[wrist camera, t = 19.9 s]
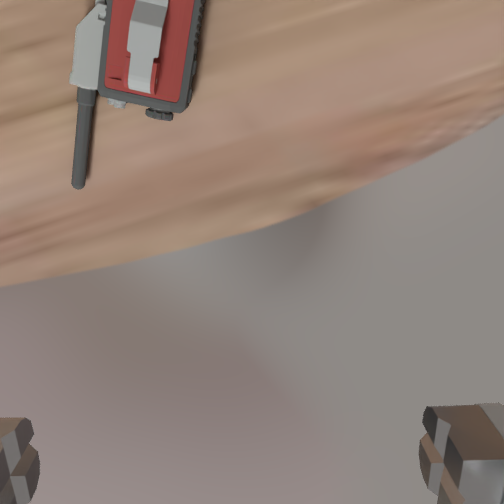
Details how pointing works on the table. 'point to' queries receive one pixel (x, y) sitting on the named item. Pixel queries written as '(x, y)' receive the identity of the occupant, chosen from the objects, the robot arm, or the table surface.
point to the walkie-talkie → (133, 62)
